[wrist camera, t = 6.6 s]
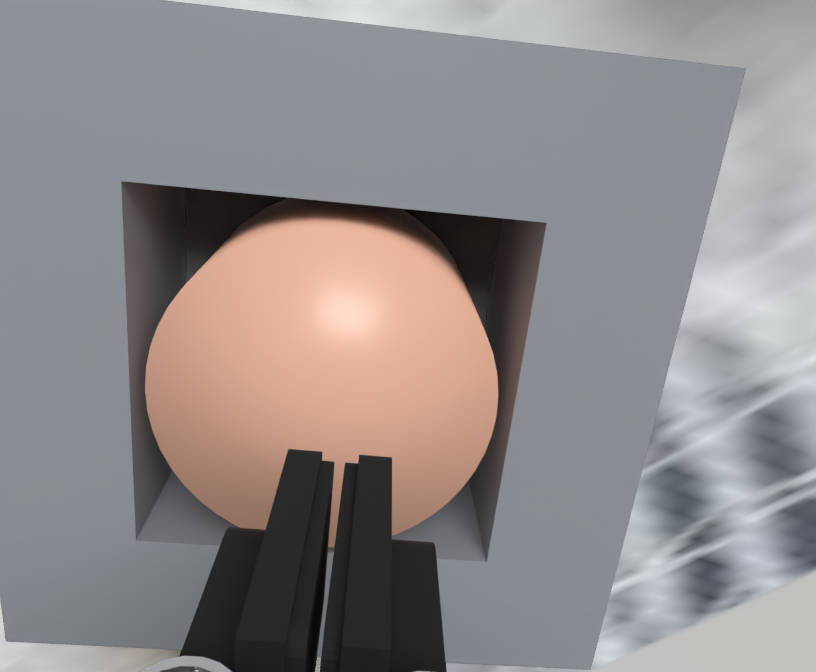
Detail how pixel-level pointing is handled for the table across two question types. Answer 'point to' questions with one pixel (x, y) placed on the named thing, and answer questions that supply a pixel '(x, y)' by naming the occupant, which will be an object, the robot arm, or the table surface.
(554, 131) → the button base
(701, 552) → the table surface
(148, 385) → the button
